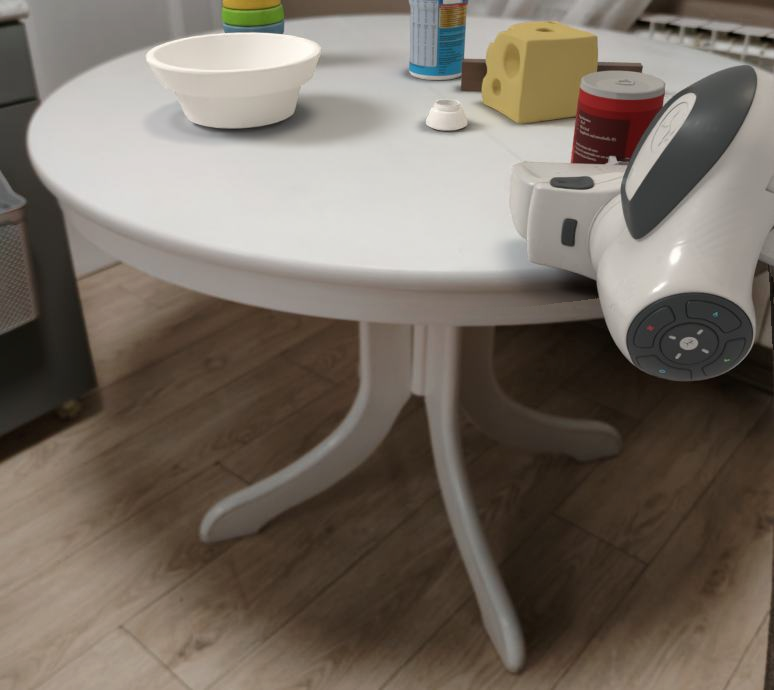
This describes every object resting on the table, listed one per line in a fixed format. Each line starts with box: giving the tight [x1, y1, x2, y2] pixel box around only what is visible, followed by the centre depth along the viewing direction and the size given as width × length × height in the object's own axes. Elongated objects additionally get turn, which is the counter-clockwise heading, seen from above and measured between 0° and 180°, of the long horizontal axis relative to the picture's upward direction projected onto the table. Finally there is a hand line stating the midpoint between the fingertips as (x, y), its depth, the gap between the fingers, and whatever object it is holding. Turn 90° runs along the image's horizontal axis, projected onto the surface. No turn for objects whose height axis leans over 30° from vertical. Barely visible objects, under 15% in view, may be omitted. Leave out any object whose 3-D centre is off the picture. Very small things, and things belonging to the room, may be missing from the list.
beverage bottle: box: [408, 0, 469, 81], centre depth 114 cm, size 8×8×20 cm
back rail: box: [460, 58, 644, 93], centre depth 110 cm, size 24×2×4 cm, turn 83°
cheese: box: [481, 20, 599, 125], centre depth 101 cm, size 10×11×10 cm
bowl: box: [145, 32, 323, 129], centre depth 100 cm, size 21×21×8 cm
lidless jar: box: [425, 98, 468, 132], centre depth 97 cm, size 5×3×5 cm
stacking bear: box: [221, 0, 285, 34], centre depth 121 cm, size 11×10×18 cm
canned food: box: [570, 71, 666, 164], centre depth 77 cm, size 8×8×11 cm
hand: (624, 164), depth 71 cm, fingers closed
